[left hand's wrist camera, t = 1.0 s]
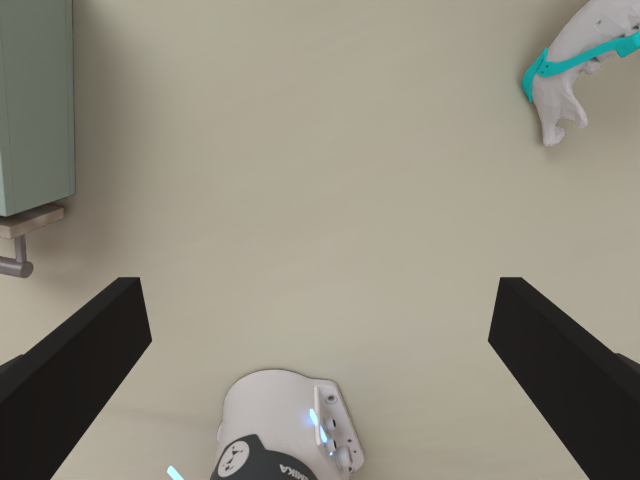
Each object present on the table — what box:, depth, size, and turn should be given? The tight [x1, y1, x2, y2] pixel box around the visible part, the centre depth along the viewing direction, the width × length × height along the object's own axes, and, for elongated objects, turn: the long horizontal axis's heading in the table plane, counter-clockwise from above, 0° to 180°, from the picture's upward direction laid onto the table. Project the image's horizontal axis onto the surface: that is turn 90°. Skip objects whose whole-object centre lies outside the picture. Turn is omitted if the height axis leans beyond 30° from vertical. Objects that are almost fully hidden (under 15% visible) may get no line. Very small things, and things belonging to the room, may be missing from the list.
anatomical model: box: [522, 0, 640, 147], centre depth 29 cm, size 15×10×10 cm
